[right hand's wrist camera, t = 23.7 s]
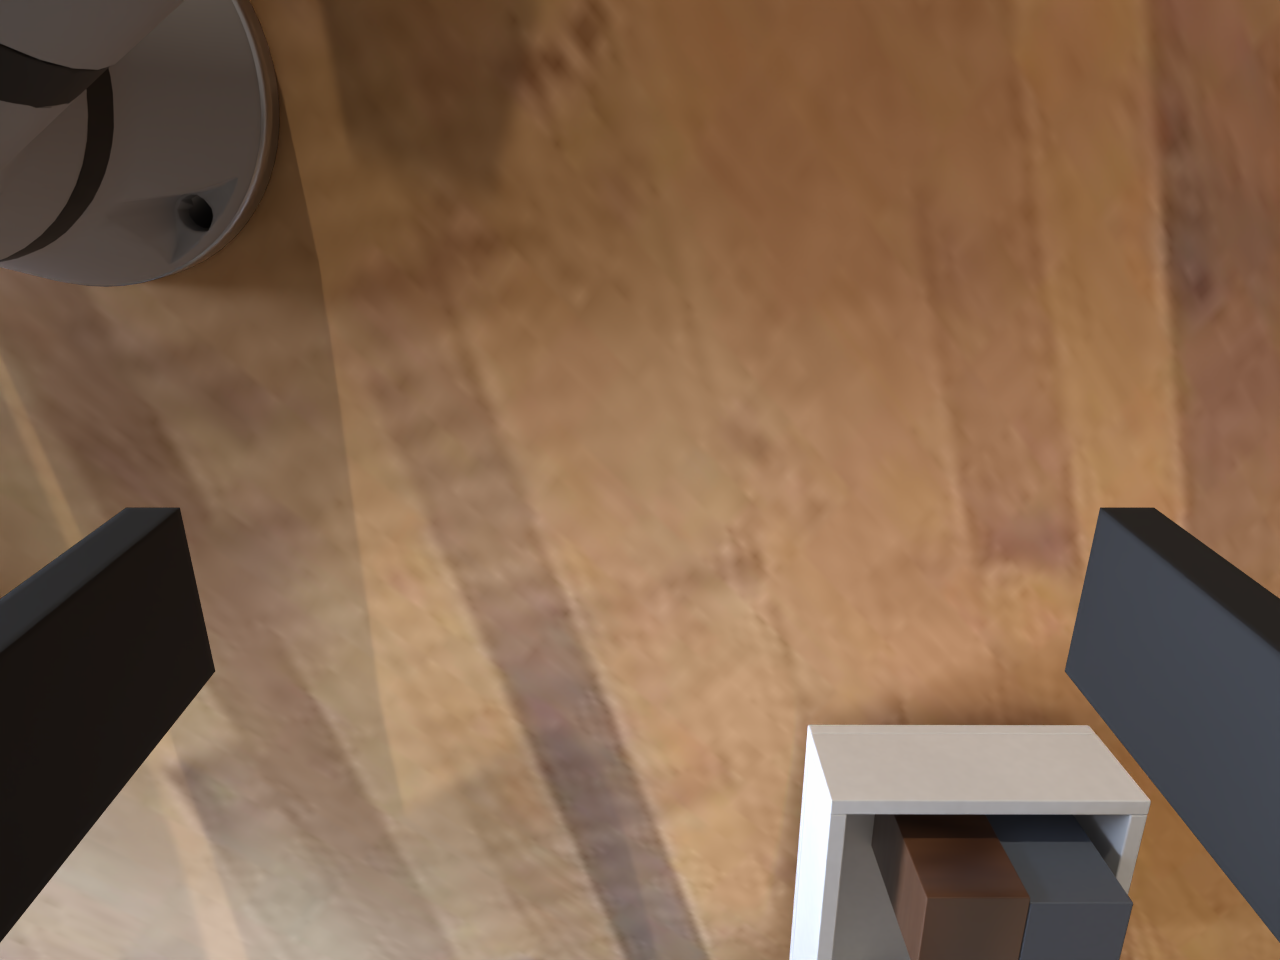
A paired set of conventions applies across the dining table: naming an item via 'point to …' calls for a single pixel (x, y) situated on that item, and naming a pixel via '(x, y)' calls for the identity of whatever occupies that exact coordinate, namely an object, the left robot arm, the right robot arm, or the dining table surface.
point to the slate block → (1064, 889)
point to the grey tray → (938, 812)
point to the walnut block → (951, 886)
